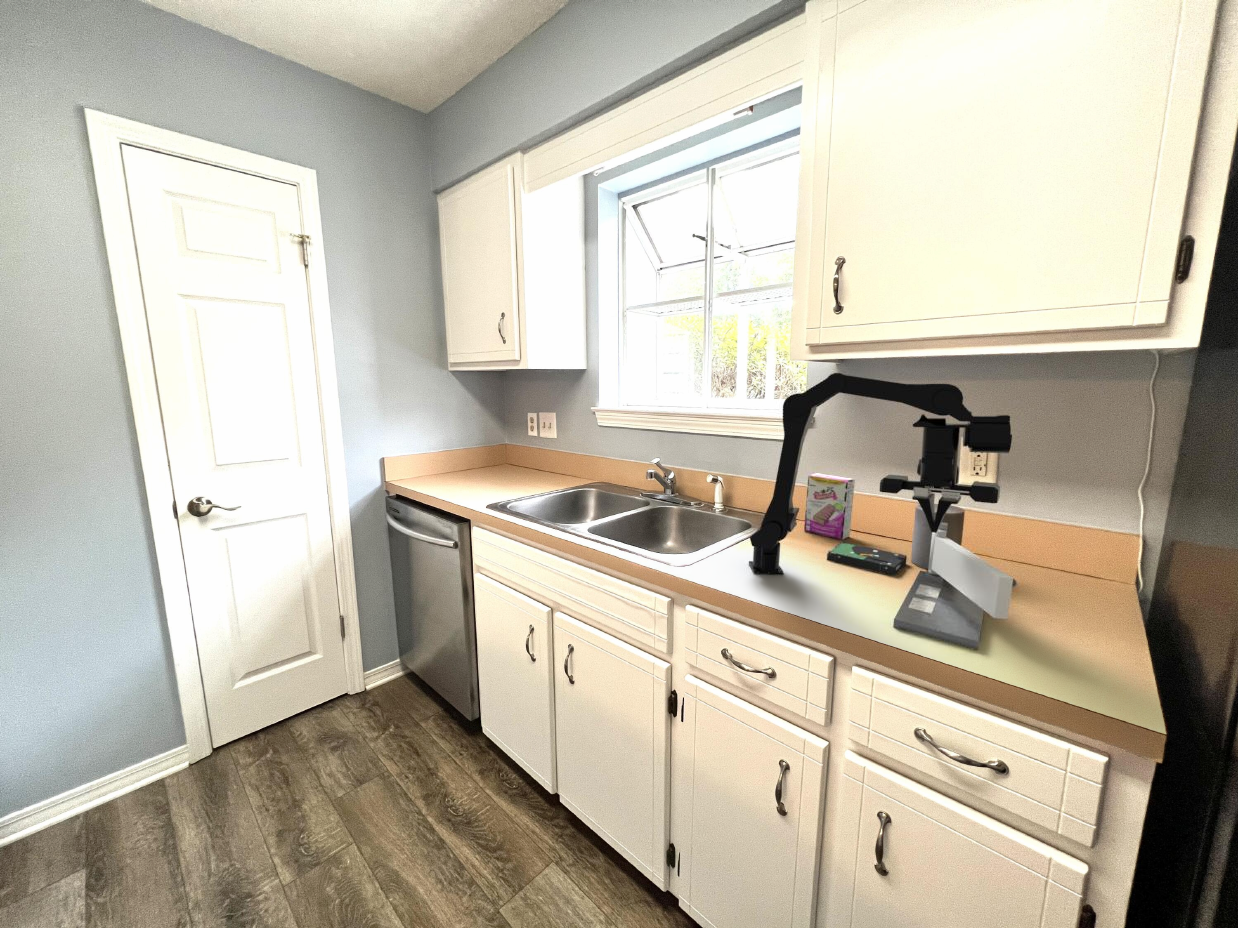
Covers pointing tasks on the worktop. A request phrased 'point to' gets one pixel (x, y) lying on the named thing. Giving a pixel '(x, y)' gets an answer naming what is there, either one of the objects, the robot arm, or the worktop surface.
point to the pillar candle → (924, 534)
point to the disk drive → (867, 558)
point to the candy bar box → (829, 505)
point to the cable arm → (971, 575)
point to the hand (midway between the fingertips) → (934, 532)
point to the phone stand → (940, 611)
